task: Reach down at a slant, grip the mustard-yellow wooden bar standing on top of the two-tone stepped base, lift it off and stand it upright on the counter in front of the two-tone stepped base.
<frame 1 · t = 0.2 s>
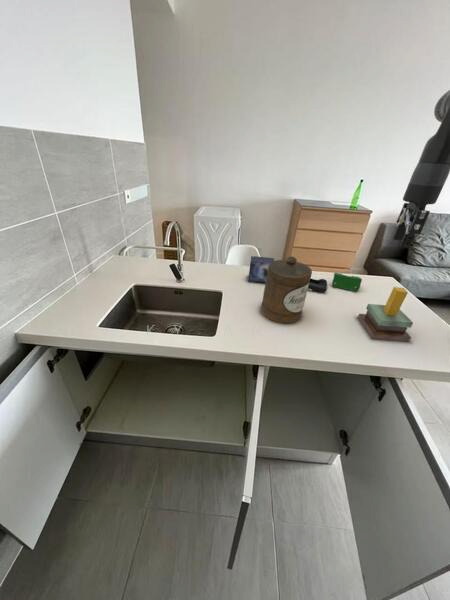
hand: (400, 243, 72), 30 cm above the worktop, tool pointing down, fingers open, 8 cm apart
small box: (259, 280, 114), on the worktop
wooden container: (280, 312, 92), on the worktop
green block: (344, 286, 113), on the worktop
bar: (389, 312, 82), point 7 cm above the worktop, touching two-tone stepped base
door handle: (303, 283, 114), on the worktop
two-tone stepped base: (381, 329, 85), on the worktop
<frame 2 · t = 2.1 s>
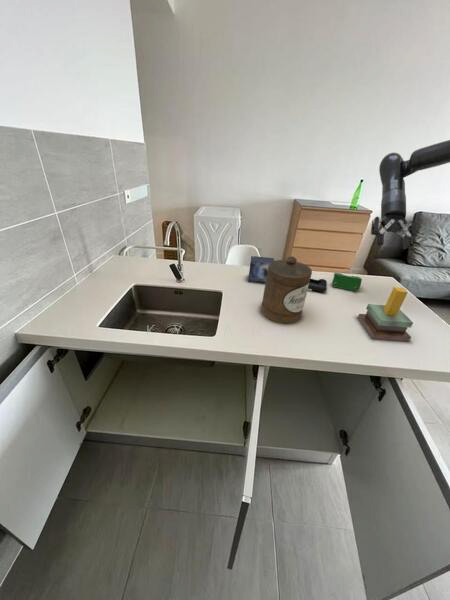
hand: (393, 246, 86), 25 cm above the worktop, tool tilted 45°, fingers open, 8 cm apart
nothing on the worktop moved.
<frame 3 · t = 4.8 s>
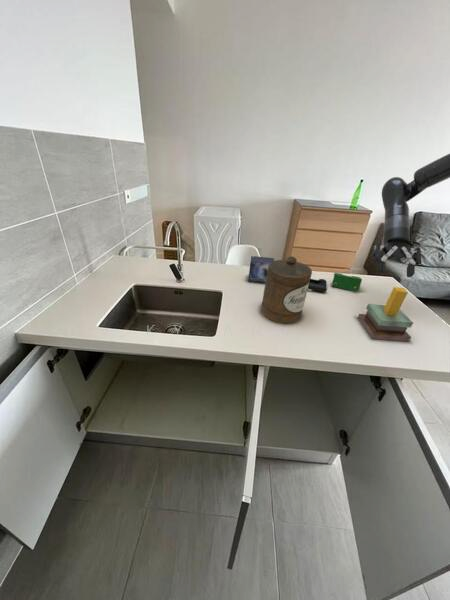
hand: (396, 275, 81), 18 cm above the worktop, tool tilted 45°, fingers open, 8 cm apart
nothing on the worktop moved.
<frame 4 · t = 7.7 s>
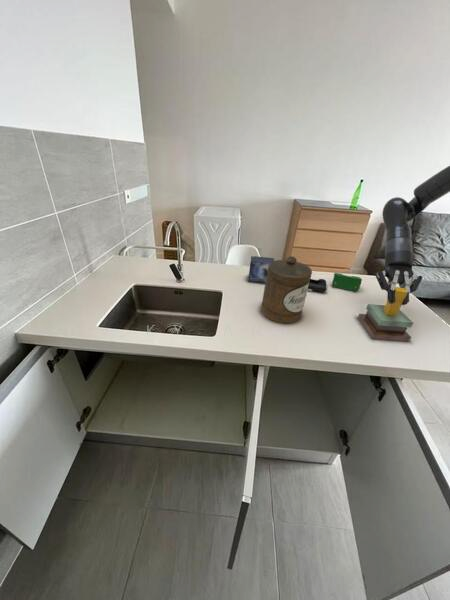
hand: (398, 303, 78), 12 cm above the worktop, tool tilted 45°, fingers closed on bar, 3 cm apart
bar: (389, 312, 82), point 7 cm above the worktop, touching gripper, two-tone stepped base
everything else where it was.
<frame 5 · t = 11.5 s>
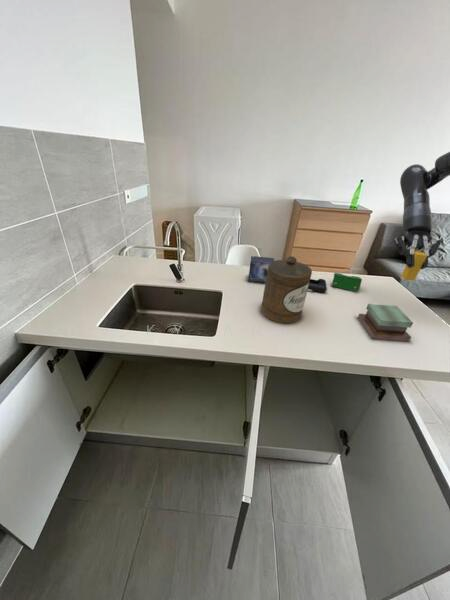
hand: (417, 267, 78), 22 cm above the worktop, tool tilted 45°, fingers closed on bar, 3 cm apart
bar: (407, 278, 83), point 17 cm above the worktop, touching gripper
everything else where it was.
when the fingers open (5 cm above the worktop, at t = 15.4 s): bar stays where it is, on the worktop.
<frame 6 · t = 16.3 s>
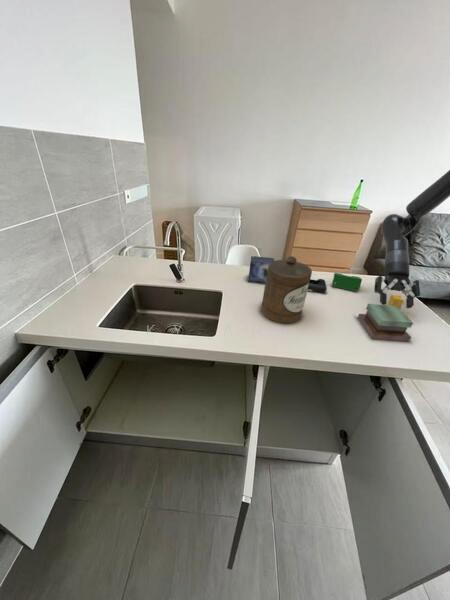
hand: (396, 306, 87), 6 cm above the worktop, tool tilted 45°, fingers open, 8 cm apart
bar: (387, 317, 92), on the worktop
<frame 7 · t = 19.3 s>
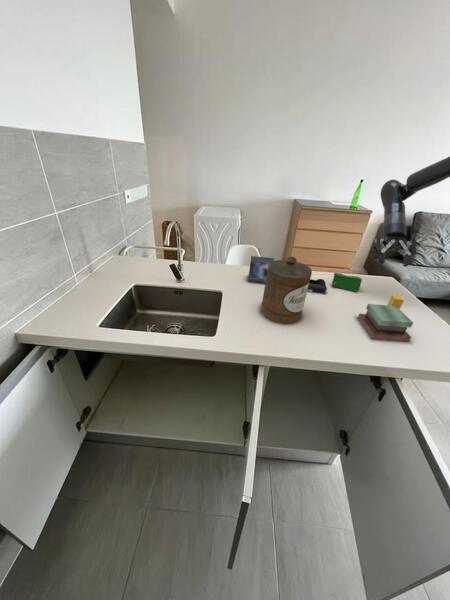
hand: (394, 264, 93), 17 cm above the worktop, tool tilted 45°, fingers open, 8 cm apart
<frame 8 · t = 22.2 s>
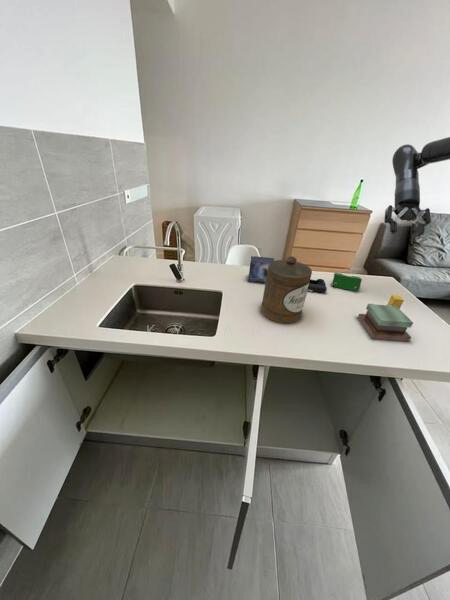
hand: (407, 234, 87), 29 cm above the worktop, tool tilted 45°, fingers open, 8 cm apart
at the end: bar inside the target area (0.1 cm from its centre), on the worktop; bar tilted 0°; the gripper is holding nothing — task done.
